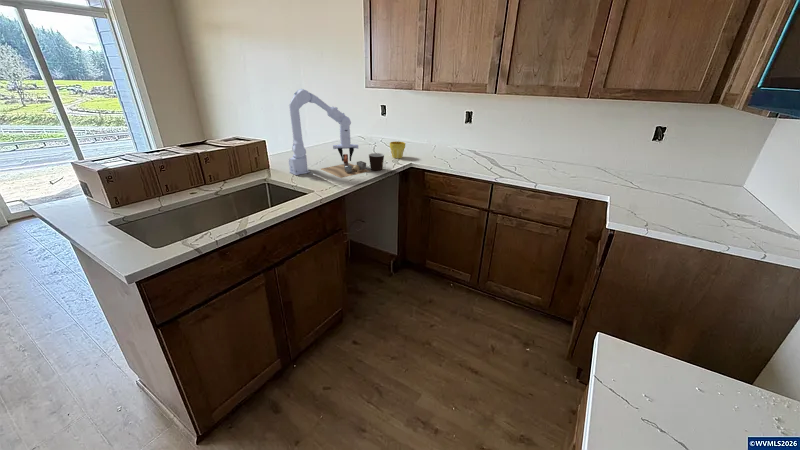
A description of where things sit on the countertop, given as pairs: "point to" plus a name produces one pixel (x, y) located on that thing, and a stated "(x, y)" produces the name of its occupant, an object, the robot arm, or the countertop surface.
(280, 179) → the countertop surface
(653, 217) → the countertop surface
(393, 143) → the plant pot
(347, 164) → the lever
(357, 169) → the walnut
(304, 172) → the robot arm
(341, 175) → the nutcracker base
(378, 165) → the coffee mug
